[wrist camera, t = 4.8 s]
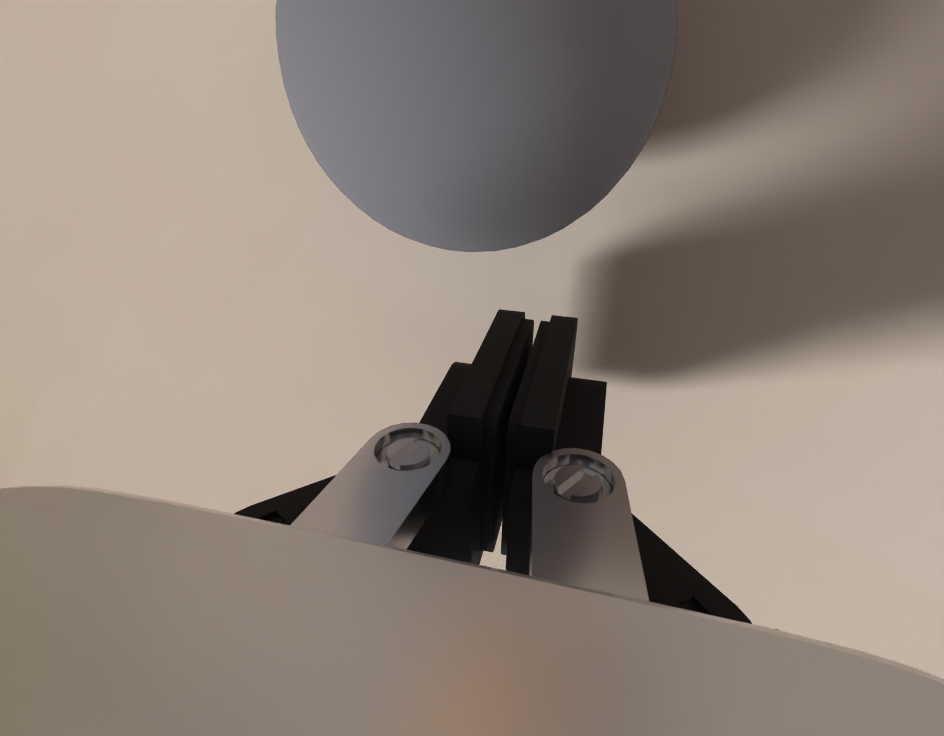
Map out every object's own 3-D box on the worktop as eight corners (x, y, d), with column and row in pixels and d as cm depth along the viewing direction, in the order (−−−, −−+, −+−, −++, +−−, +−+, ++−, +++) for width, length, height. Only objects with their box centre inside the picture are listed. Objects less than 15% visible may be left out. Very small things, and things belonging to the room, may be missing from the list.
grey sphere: (631, 336, 7) (690, 174, 10) (624, -409, 3) (713, -247, 7) (283, 307, 9) (436, 183, 13) (84, -150, 6) (368, -132, 10)
